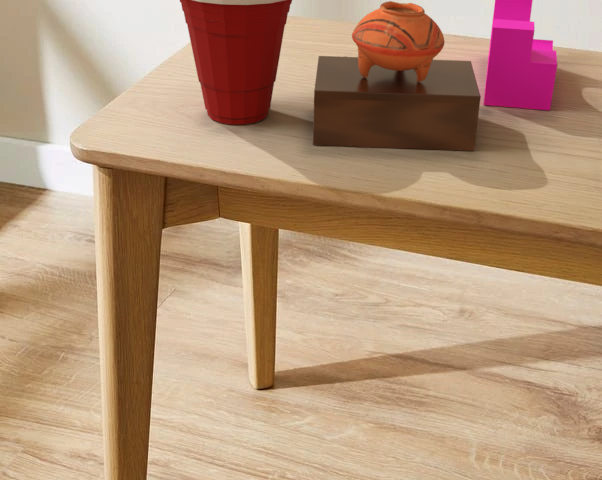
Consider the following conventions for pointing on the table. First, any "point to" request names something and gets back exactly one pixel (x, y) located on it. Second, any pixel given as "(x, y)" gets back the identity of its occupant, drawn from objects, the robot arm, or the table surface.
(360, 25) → the pot
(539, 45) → the toy block
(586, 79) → the table surface
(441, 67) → the block
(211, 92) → the plastic cup
